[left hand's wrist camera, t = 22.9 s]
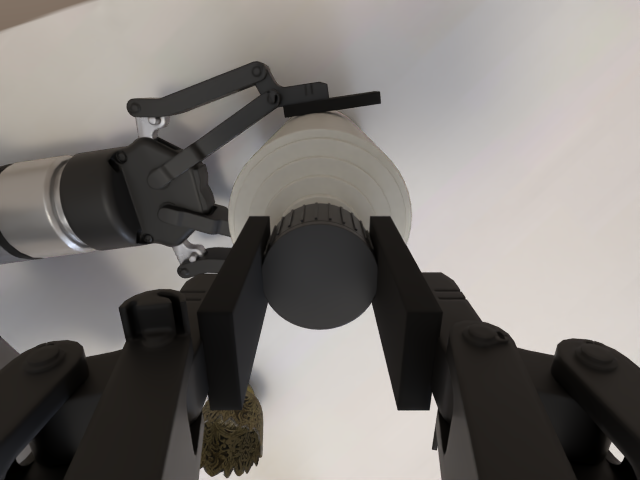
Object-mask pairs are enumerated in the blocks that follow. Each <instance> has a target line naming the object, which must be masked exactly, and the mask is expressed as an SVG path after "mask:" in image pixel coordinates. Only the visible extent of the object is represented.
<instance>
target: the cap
mask: <svg viewBox="0 0 640 480" xmlns="http://www.w3.org/2000/svg"><path fill="white" fill-rule="evenodd" d="M373 251H374V247H373V244H372V241H371V238H370V235H369V232H368V230H366V229H365V228H364V226H363V223H362V221H361V220H360V221H359V220H358V218H356V217H355V216H354V214H353V213H352V212H351V213H350V212H349V211H347V210H345V209H343V207H341V206H340V207H338V206H335V205H331V204H330V203H328V204H324V203H318V202H315V204H308V205H305V204H304V205H303V206H301V207H299V208H297V209H294V210H293V209H292V210H291V212H290V213H288V214H287V215H286V216H285V217H282V218H281V221H280V222H279V223H278V224H277V226H276V225H275V226H274V228H273V231H272V234H271V236H269V239H268V242H267V245H266V248H265V251H264V254H263V257H264V260H263V263H262V278H263V293H264V295H265V298H266V300H267V301H268V303H269V305H270V306H271V307H272V308H273V310H274V311H275V312H276V313H277V314H278V315H280V316H281V317H282V318H284V319H285V320H287V321H288V322H290V323H292V324H295V325H297V326H300V327H303V328H308V329H317V330H323V329H332V328H336V327H340V326H343V325H345V324H348V323H349V322H351V321H353V320H355V319H356V318H357V317H359V316H360V315H361V314H362V313H363V312H365V310H366V309H367V308H368V307H369V306H370V304H371V302H372V301H373V299H374V297H375V295H376V290H377V274H378V264H377V261H376V258H375V255H374V252H373Z"/></svg>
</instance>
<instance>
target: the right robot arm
mask: <svg viewBox="0 0 640 480" xmlns="http://www.w3.org/2000/svg"><path fill="white" fill-rule="evenodd" d="M255 85H256V87H257V89H258V91H259V93H260V94H261V95H260V96H259V97H257V98H256V99H254V100H253V101H252V102H250V103H249V104H248V105H246V106H245V107H243V108H242V109H241V110H239V111H238V112H236V113H235V114H234V115H232V116H231V117H229V118H228V119H227V120H225V121H224V122H223V123H221V124H220V125H218V126H217V127H216V128H214V129H213V130H211V131H210V132H209V133H207V134H206V135H205V136H203V137H202V138H200V139H199V140H198V141H196V142H195V143H193V144H191V145H190V146H188V147H187V148H186V149H184V150H183V149H181V148H179V147H177V146H175V145H173V144H171V143H169V142H167V141H165V140H163V139H161V138H159V137H157V133H158V131H159V129H161V128H163V127H166V126H168V124H169V122H170V117H169V116H171V115H177V114H181V113H184V112H187V111H190V110H192V109H195V108H197V107H200V106H203V105H205V104H208V103H210V102H213V101H216V100H218V99H221V98H223V97H226V96H229V95H231V94H234V93H236V92H239V91H242V90H244V89H247V88H249V87H252V86H255ZM374 104H381V99H380V92H379V91H373V92H366V93H360V94H353V95H346V96H340V97H333V98H329V94H328V86H327V84H326V83H322V82H315V83H309V84H302V85H296V86H289V87H282V86H280V85H278V84H277V82H276V81H275V79H274V77H273V75H272V74H271V72H270V69H269V67H268V66H267V65H266V64H263V63H261V62H258V61H256V62H252V63H249V64H247V65H244V66H242V67H239V68H236V69H234V70H231V71H229V72H226V73H224V74H221V75H219V76H216V77H214V78H211V79H208V80H206V81H203V82H201V83H198V84H196V85H193V86H191V87H188V88H186V89H183V90H180V91H178V92H175V93H173V94H170V95H168V96H165V97H163V98H135V99H130V100H129V101H128V103H127V110H128V112H129V113H130V115H132V116H133V117H135V118H136V124H137V130H138V137H139V138H138V139H136V140H135V141H134V142H133V143H132V144H130V145H129V146H125V147H119V148H112V149H105V150H98V151H92V152H85V153H79V154H76V155H74V156H70V155H65V156H58V157H51V158H45V159H38V160H31V161H24V162H17V163H14V164H8V165H4V166H0V264H6V263H13V262H20V261H27V260H34V259H42V258H49V257H57V256H65V255H73V254H81V253H88V252H94V251H95V250H111V249H118V248H126V247H133V246H141V245H147V244H152V243H158V244H162V245H165V246H169V247H172V248H173V250H174V252H175V254H176V256H177V258H178V260H179V262H180V266H179V267H178V269H177V273H178V275H179V276H180V277H182V278H190V277H193V276H196V275H197V274H204V273H218V272H219V270H220V269H221V267H222V265H223V263H224V261H225V260H226V258H227V256H228V254H229V252H230V250H231V249H232V248H223V247H213V248H207V249H205V248H204V246H203V245H199V244H196V245H194V244H191V243H190V242H188V240H187V238H188V237H189V236H190V235H191V234H192V233H193V232H194V231H195V230H197V231H200V232H204V233H208V234H221V235H225V236H229V237H231V235H230V231H229V222H228V209H227V208H226V207H224V206H221V205H217V204H214V203H215V201H214V197H213V193H212V191H211V189H210V188H209V186H208V173H207V169H206V165H205V164H202V162H201V161H202V160H204V159H205V158H207V157H208V156H210V155H211V154H212V153H214V152H215V151H216V150H218V149H219V148H221V147H222V146H223V145H225V144H226V143H228V142H229V141H231V140H232V139H233V138H235V137H236V136H238V135H239V134H240V133H242V132H243V131H245V130H246V129H248V128H249V127H250V126H252V125H253V124H255V123H256V122H258V121H259V120H260V119H262V118H263V117H265V116H266V115H267V114H269V113H270V112H272V111H273V110H275V109H276V108H277V107H283V109H284V115H285V118H287V117H293V116H300V115H307V114H314V113H320V112H327V111H334V110H340V109H347V108H354V107H361V106H367V105H374ZM19 355H20V354H19V353H18V352H17V351H16V350H15V349H14V348H12V347H11V346H10V345H9V344H8V343H7V342H6V341H5V340H4V339H2V338H1V336H0V370H1V369H2V368H3V367H4V366H6V365H7V364H8V363H9V362H10V361H12V360H13V359H14V358H16V357H17V356H19ZM30 453H31V448H30V445H29V444H28V445H27V446H26V447H25V448H24V450H23V451H22V452H21V453H20V454H19V455H18V456H17V458H16V460H17V462H18V463H21V462H22V461H23V460H24V459H25V458H26V457H27V456H28V455H29V454H30Z"/></svg>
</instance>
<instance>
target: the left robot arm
mask: <svg viewBox="0 0 640 480" xmlns="http://www.w3.org/2000/svg"><path fill="white" fill-rule="evenodd" d="M369 235H370V238H371V241H372V244H373V247H374V251H373V252H374V255H375V258H376V261H377V264H378V274H377V290H376V295H375V297H374V299H373V301H372V305H373V310H374V314H375V318H376V322H377V326H378V330H379V334H380V339H381V343H382V347H383V351H384V355H385V359H386V363H387V368H388V372H389V376H390V380H391V384H392V388H393V393H394V397H395V401H396V405H397V409H398V410H430V403H431V396H432V393H433V396H434V398H435V401H436V404H437V406H438V412H437V418H436V425H435V432H434V439H433V445H432V450H437V447H438V452H439V461H440V470H441V479H442V480H640V368H639V367H638V366H637V365H636V364H635V363H633V362H632V361H631V360H630V359H628V358H627V357H626V356H624V355H623V354H621V353H620V352H618V351H616V350H615V349H613V348H610V347H608V346H606V345H604V344H602V343H599V342H596V341H592V340H587V339H574V338H572V339H567V340H563V341H561V342H560V343H559V344H558V345H557V348H556V352H555V355H549V354H544V353H539V352H534V351H529V350H524V349H521V348H517V347H516V344H515V342H514V340H513V339H512V338H511V337H510V335H509V334H508V333H507V332H505V331H504V330H502V329H501V328H499V327H497V326H494V325H492V324H489V323H486V322H482V321H481V319H480V318H479V316H478V315H477V313H476V312H475V310H474V309H473V308H472V306H471V305H470V303H469V302H468V300H466V299H465V296H464V295H463V293H462V292H460V289H459V287H458V286H457V285H456V283H455V282H454V280H452V279H451V278H449V277H448V276H446V275H444V274H443V273H441V272H421V271H420V269H419V267H418V266H417V264H416V262H415V260H414V258H413V256H412V255H411V253H410V251H409V249H408V247H407V246H406V244H405V242H404V240H403V238H402V236H401V235H400V233H399V231H398V229H397V227H396V225H395V224H394V222H393V220H392V218H391V216H370V226H369ZM269 236H271V231H270V216H249V218H248V220H247V221H246V223H245V225H244V227H243V229H242V230H241V232H240V234H239V236H238V238H237V240H236V241H235V243H234V245H233V247H232V249H231V250H230V252H229V254H228V256H227V258H226V260H225V261H224V263H223V265H222V267H221V269H220V270H219V272H218V274H197V275H196V276H194V277H193V278H191V279H190V280H188V281H187V282H186V283H185V284H184V286H183V287H182V289H181V290H180V291H176V290H171V289H158V290H152V291H146V292H143V293H140V294H138V295H135V296H133V297H131V298H129V299H128V300H126V301H124V302H123V304H122V305H121V306H120V307H119V312H120V316H121V321H122V325H123V330H124V334H125V338H126V343H125V345H124V347H123V349H122V350H118V351H114V352H110V353H105V354H100V355H94V356H89V357H85V353H84V349H83V346H81V345H80V344H79V343H78V342H75V341H69V340H63V341H52V342H48V343H44V344H40V345H38V346H36V347H34V348H32V349H30V350H27V351H25V352H23V353H22V354H20V355H19V356H17V357H16V358H14V359H13V360H12V361H10V362H9V363H8V364H7V365H6V366H4V367H3V368H2V369H1V370H0V480H199V471H200V462H201V453H202V444H203V434H204V418H203V412H202V408H203V405H204V402H205V399H206V397H207V394H208V398H209V405H210V410H242V408H243V404H244V400H245V396H246V391H247V387H248V383H249V379H250V375H251V371H252V367H253V362H254V358H255V354H256V350H257V346H258V342H259V337H260V333H261V329H262V325H263V321H264V317H265V313H266V308H267V304H268V301H267V300H266V298H265V295H264V293H263V278H262V263H263V260H264V257H263V254H264V251H265V248H266V245H267V242H268V239H269ZM611 442H612V443H613V444H614V445H615V446H616V447H617V448H618V449H619V450H620V452H621V453H622V454H623V455H624V456H625V457H624V459H623V461H622V462H620V461H619V460H618V459H617V458H615V457H614V455H613V454H612V453H611V452H610V451H609V447H610V445H611ZM28 444H29V445H30V448H31V453H30V454H29V455H28V456H27V457H26V458H25V459H24V460H23V461H22V462H21V463H18V462H17V460H16V458H17V456H18V455H19V454H20V453H21V452H22V451H23V450H24V448H25V447H26V446H27V445H28Z"/></svg>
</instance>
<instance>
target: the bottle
mask: <svg viewBox="0 0 640 480" xmlns="http://www.w3.org/2000/svg"><path fill="white" fill-rule="evenodd" d="M315 202H318V203H324V204H328V203H330V204H331V205H335V206H338V207H340V206H341V207H343V209H345V210H347V211H349V212H350V213H351V212H352V213H353V214H354V216H355V217H356V218H358V220H359V221H360V220H361V221H362V223H363V226H364V228H365V229H366V230H368V232H369V226H370V216H391V218H392V220H393V222H394V224H395V225H396V227H397V229H398V231H399V233H400V235H401V236H402V238H403V240H404V242H405V244H407V241H408V239H409V234H410V229H411V220H412V211H411V202H410V197H409V192H408V190H407V187H406V184H405V181H404V180H403V178H402V176H401V174H400V172H399V170H398V169H397V168H396V166H395V165H394V164H393V162H392V161H391V160H390V159H389V158H388V157H387V156H386V155H385V154H384V153H383V152H382V151H381V150H380V149H379V148H378V147H377V146H376V145H375V144H374V143H373V141H372V140H371V139H370V138H369V137H368V136H367V135H366V134H365V133H364V132H363V131H362V130H361V129H360V128H359V127H358V126H357V125H356V124H355V123H354V122H353V121H352V120H351V119H349V118H348V117H347V116H346V115H344V114H342V113H340V112H338V111H335V110H334V111H327V112H320V113H314V114H307V115H300V116H293V117H292V118H291V119H289V120H288V121H287V122H286V123H285V124H284V125H283V126H282V127H281V128H280V129H279V130H278V131H277V132H276V133H275V134H274V135H273V136H272V137H271V138H270V139H269V140H268V141H267V142H266V143H265V144H264V145H263V146H262V147H261V148H260V149H259V150H258V151H257V152H256V153H255V154H254V155H253V156H252V158H251V159H250V160H249V161H248V162H247V163H246V164H245V166H244V167H243V169H242V171H241V172H240V174H239V175H238V177H237V180H236V182H235V184H234V186H233V189H232V193H231V196H230V201H229V207H228V222H229V231H230V235H231V239H232V242H233V245H234V243H235V241H236V240H237V238H238V236H239V234H240V232H241V230H242V229H243V227H244V225H245V223H246V221H247V220H248V218H249V216H270V231H271V234H272V231H273V228H274V226H275V225H276V226H277V224H278V223H279V222H280V221H281V218H282V217H285V216H286V215H287V214H288V213H290V212H291V210H292V209H293V210H294V209H297V208H299V207H301V206H303V205H304V204H305V205H308V204H315Z"/></svg>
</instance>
